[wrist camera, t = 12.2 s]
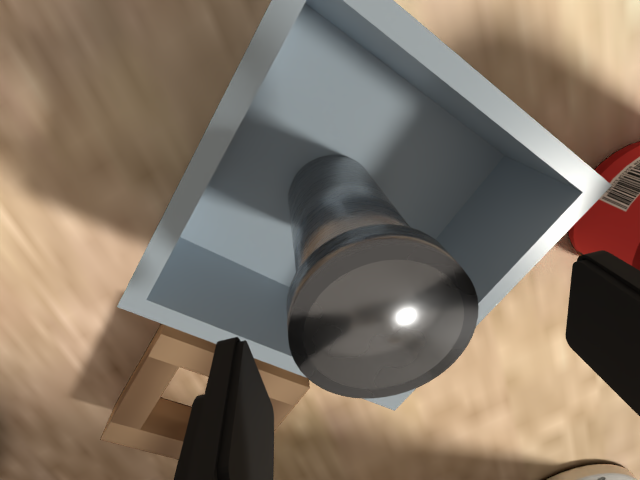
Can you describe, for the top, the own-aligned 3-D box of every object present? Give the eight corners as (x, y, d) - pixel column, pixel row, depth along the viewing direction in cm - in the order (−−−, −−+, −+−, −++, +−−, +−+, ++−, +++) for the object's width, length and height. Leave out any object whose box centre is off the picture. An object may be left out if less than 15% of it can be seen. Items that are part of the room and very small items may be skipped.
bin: (519, 147, 20) (612, 185, 14) (367, 330, 24) (394, 410, 19) (294, -31, 15) (307, -73, 10) (158, 235, 19) (116, 306, 14)
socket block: (306, 357, 24) (309, 387, 22) (241, 440, 27) (238, 474, 25) (172, 304, 21) (161, 333, 19) (115, 404, 24) (100, 439, 22)
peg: (374, 134, 18) (476, 221, 9) (388, 230, 20) (480, 374, 11) (267, 161, 18) (263, 275, 9) (294, 254, 20) (312, 415, 11)
